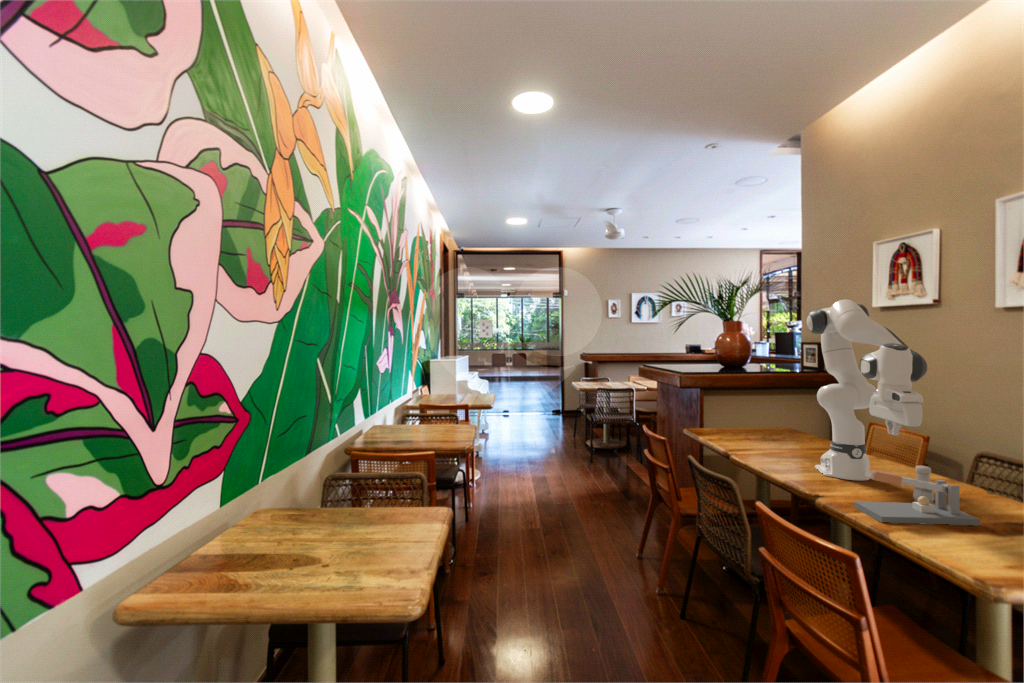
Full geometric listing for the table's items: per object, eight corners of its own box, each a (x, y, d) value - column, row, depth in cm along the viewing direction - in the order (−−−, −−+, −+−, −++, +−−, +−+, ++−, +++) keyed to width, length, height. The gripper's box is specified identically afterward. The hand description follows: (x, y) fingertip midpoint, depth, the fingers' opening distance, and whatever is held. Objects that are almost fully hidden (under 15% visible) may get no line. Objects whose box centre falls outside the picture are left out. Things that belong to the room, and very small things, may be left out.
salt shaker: (926, 500, 168) (926, 464, 168) (939, 506, 163) (938, 468, 163) (908, 500, 169) (908, 464, 169) (920, 506, 163) (920, 468, 163)
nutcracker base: (943, 509, 160) (943, 477, 160) (980, 525, 146) (979, 490, 146) (854, 507, 163) (854, 475, 163) (881, 523, 149) (881, 487, 149)
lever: (946, 494, 155) (948, 483, 155) (955, 498, 151) (957, 487, 151) (863, 478, 157) (865, 467, 157) (870, 481, 154) (872, 470, 154)
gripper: (864, 388, 168) (863, 427, 168) (905, 397, 147) (904, 441, 148) (883, 388, 167) (882, 427, 167) (927, 397, 147) (926, 442, 147)
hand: (893, 434), depth 157 cm, fingers closed
